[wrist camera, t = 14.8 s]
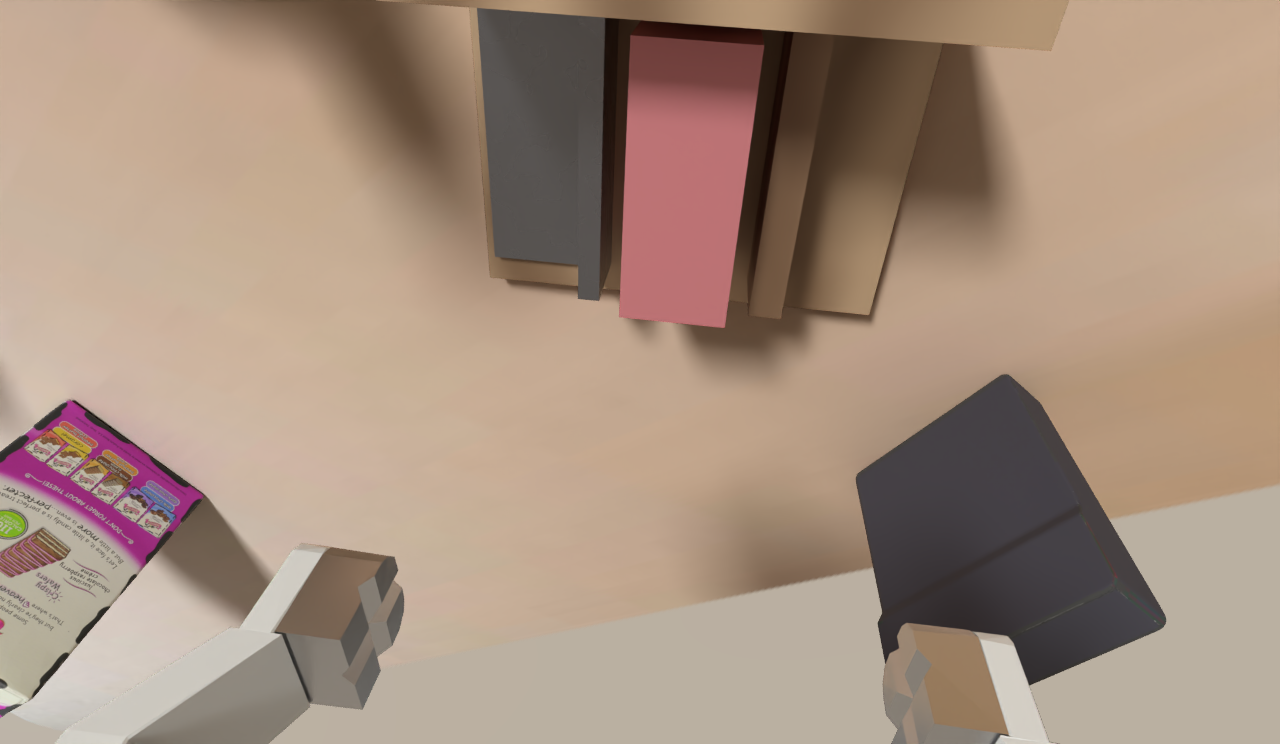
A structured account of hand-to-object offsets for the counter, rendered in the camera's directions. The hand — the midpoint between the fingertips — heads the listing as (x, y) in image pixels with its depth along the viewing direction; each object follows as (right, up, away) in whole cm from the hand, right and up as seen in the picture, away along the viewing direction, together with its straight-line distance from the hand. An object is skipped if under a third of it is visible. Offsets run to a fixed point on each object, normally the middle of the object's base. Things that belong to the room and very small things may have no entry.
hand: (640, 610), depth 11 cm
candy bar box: (-38, -3, +40) cm, 55 cm away
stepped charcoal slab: (+18, 0, +31) cm, 36 cm away
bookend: (-4, +15, +22) cm, 27 cm away
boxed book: (+2, +14, +21) cm, 26 cm away
